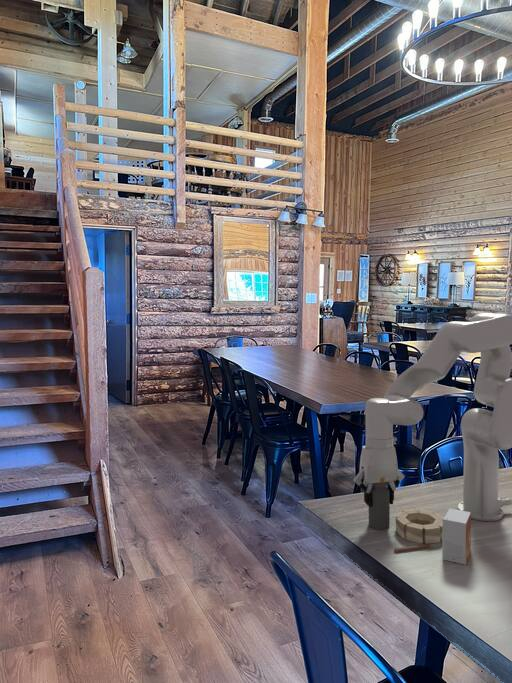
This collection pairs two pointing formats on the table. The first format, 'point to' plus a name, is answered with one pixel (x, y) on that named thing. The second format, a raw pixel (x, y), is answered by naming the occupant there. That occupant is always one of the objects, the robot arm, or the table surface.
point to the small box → (456, 536)
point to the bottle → (380, 506)
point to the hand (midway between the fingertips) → (379, 503)
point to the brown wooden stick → (412, 548)
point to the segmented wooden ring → (419, 526)
